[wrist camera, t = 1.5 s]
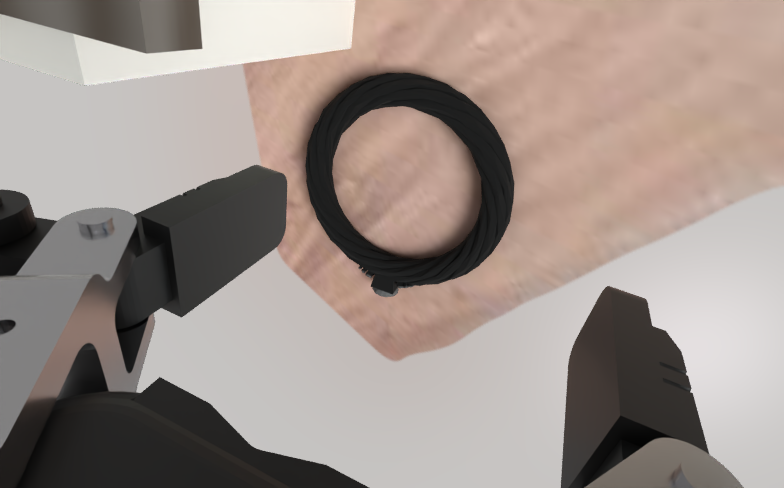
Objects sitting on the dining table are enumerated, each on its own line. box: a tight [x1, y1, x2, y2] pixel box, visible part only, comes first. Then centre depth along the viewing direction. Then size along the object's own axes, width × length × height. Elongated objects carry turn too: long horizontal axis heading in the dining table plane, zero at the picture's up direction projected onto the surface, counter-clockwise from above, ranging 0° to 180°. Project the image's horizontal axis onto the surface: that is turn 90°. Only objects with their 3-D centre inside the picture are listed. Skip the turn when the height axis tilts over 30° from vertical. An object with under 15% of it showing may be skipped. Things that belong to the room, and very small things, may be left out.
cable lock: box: [306, 73, 514, 297], centre depth 54 cm, size 28×4×30 cm
